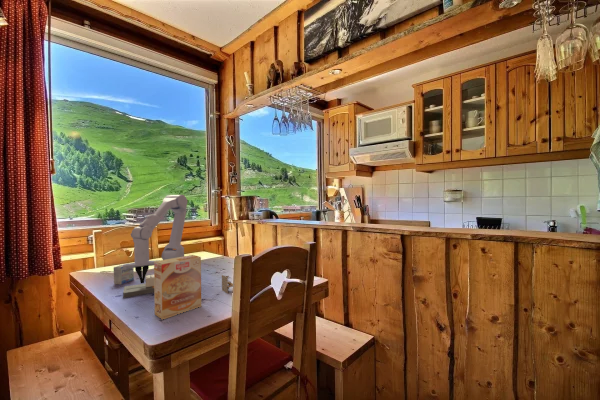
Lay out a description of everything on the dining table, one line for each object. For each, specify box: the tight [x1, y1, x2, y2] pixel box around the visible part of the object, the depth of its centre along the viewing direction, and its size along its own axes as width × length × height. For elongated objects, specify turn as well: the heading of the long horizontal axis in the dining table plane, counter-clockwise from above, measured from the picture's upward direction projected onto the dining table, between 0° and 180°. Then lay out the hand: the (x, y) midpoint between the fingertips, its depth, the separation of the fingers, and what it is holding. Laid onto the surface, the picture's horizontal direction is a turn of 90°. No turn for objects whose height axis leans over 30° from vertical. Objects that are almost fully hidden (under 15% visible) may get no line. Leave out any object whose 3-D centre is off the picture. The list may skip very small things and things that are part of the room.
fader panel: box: [122, 282, 154, 298], centre depth 123 cm, size 15×10×2 cm, turn 120°
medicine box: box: [113, 262, 135, 285], centre depth 137 cm, size 8×4×9 cm, turn 168°
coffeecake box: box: [153, 254, 202, 320], centre depth 101 cm, size 15×7×20 cm, turn 139°
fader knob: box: [145, 274, 154, 287], centre depth 124 cm, size 4×5×4 cm
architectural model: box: [221, 274, 234, 294], centre depth 121 cm, size 3×7×7 cm, turn 40°
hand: (142, 282), depth 123 cm, fingers closed
